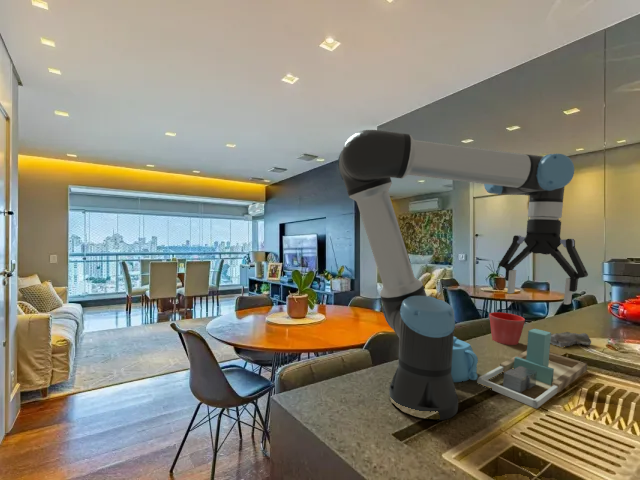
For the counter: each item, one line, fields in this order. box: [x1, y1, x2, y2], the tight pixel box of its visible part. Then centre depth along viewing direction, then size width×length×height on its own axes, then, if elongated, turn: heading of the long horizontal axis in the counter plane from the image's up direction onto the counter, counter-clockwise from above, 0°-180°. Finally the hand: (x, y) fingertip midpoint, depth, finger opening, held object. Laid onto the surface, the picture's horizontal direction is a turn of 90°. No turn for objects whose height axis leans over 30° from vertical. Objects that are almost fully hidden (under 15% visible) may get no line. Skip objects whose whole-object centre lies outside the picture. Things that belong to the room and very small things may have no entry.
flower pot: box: [488, 311, 526, 346], centre depth 118 cm, size 11×11×10 cm
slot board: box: [499, 350, 588, 394], centre depth 95 cm, size 22×14×3 cm, turn 127°
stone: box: [550, 331, 592, 347], centre depth 121 cm, size 15×10×4 cm, turn 98°
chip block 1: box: [502, 369, 528, 394], centre depth 85 cm, size 4×4×4 cm
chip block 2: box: [513, 366, 537, 390], centre depth 87 cm, size 4×4×4 cm
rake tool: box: [514, 328, 554, 385], centre depth 91 cm, size 5×9×12 cm, turn 37°
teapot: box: [451, 336, 479, 383], centre depth 93 cm, size 13×11×18 cm
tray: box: [476, 365, 558, 409], centre depth 84 cm, size 12×14×2 cm
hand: (537, 298), depth 91 cm, fingers open, 13 cm apart
